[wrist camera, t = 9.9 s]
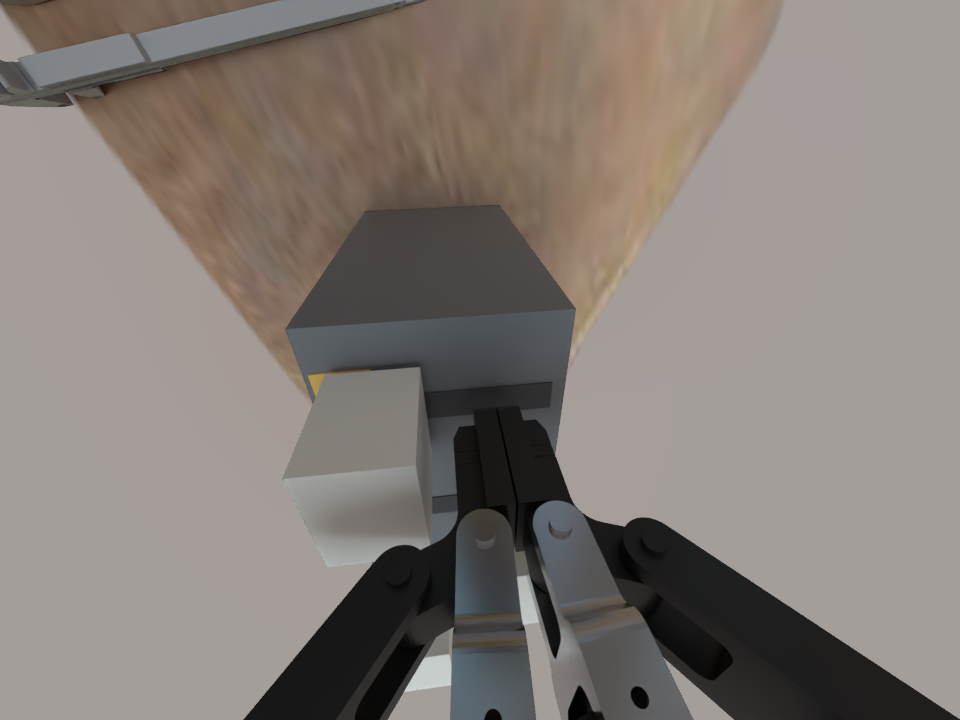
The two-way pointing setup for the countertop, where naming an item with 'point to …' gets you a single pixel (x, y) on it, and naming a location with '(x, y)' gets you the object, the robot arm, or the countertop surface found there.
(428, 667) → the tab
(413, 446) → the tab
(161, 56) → the caliper
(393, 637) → the robot arm
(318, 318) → the switch box
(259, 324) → the countertop surface
